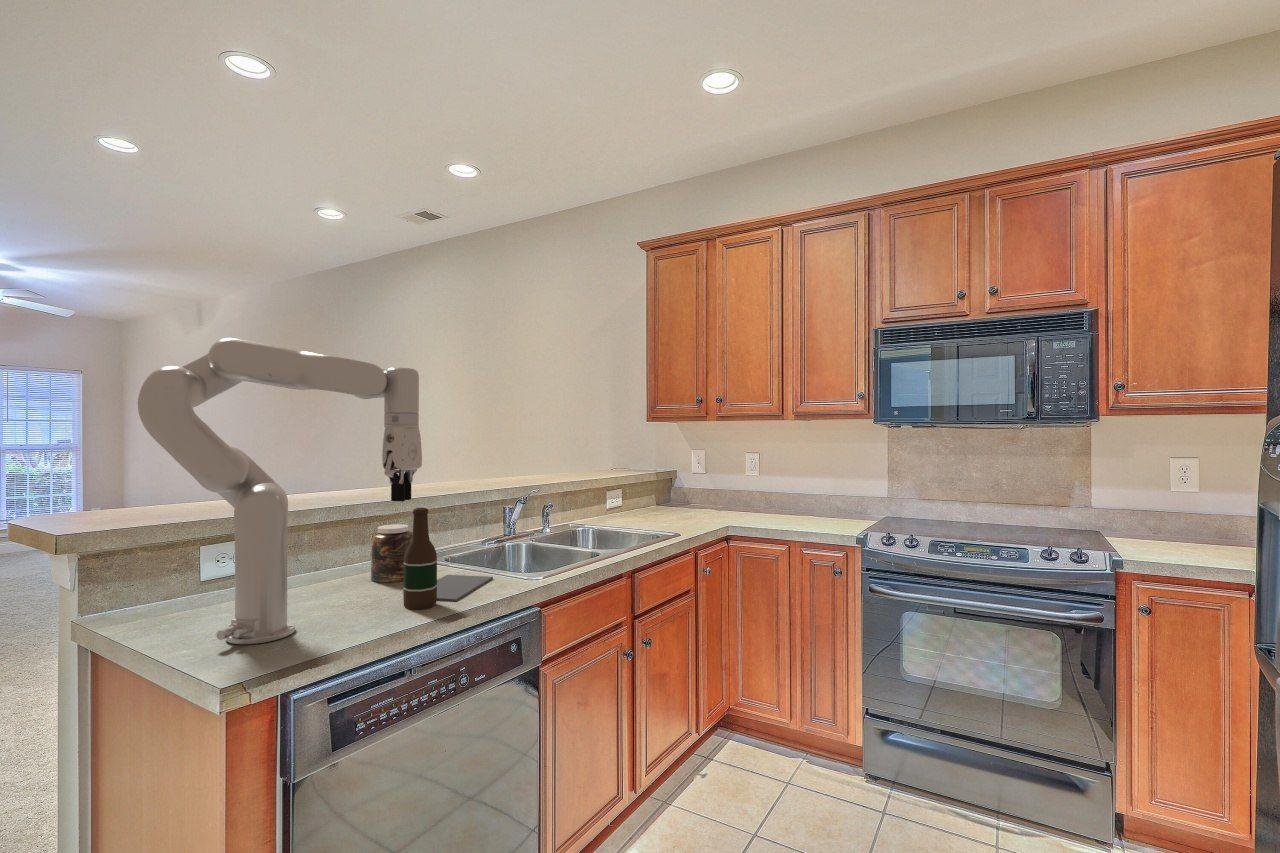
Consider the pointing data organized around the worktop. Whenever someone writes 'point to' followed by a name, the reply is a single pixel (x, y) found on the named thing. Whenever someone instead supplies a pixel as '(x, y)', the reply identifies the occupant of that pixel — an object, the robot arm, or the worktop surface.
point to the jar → (389, 553)
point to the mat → (458, 586)
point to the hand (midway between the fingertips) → (401, 499)
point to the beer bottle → (420, 566)
